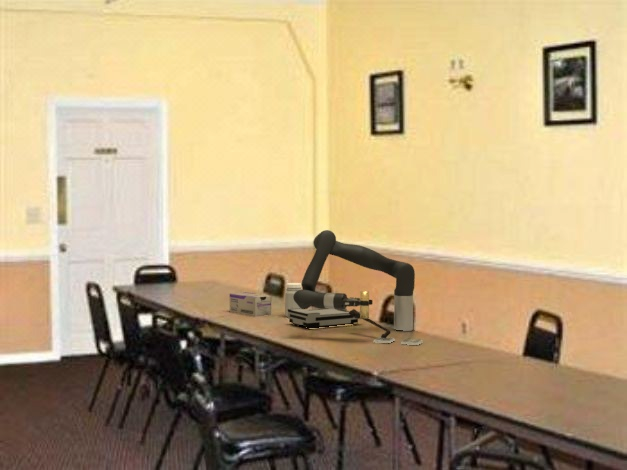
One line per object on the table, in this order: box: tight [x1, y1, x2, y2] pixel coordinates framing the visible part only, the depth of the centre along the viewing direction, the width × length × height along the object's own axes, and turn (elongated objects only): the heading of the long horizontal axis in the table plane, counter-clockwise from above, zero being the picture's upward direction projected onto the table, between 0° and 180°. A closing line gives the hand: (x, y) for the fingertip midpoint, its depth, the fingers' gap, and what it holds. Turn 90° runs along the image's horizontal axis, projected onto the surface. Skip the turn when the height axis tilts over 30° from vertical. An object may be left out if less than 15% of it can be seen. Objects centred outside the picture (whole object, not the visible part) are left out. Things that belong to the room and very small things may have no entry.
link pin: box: [359, 290, 370, 319], centre depth 443 cm, size 4×4×12 cm
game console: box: [287, 308, 362, 329], centre depth 494 cm, size 21×32×8 cm, turn 120°
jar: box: [284, 282, 302, 318], centre depth 524 cm, size 10×10×18 cm
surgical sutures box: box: [229, 291, 272, 318], centre depth 538 cm, size 25×11×11 cm, turn 38°
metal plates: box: [373, 336, 424, 346], centre depth 438 cm, size 8×20×2 cm, turn 67°
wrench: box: [349, 308, 391, 338], centre depth 456 cm, size 5×5×30 cm
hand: (370, 302), depth 442 cm, fingers closed on link pin, 4 cm apart
